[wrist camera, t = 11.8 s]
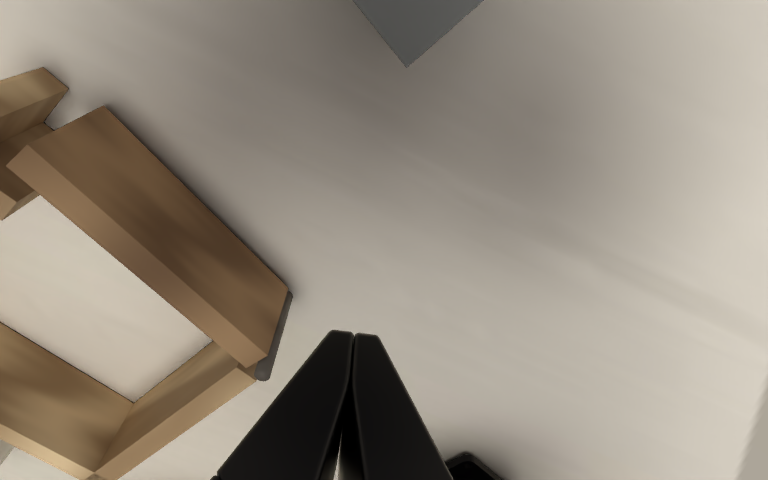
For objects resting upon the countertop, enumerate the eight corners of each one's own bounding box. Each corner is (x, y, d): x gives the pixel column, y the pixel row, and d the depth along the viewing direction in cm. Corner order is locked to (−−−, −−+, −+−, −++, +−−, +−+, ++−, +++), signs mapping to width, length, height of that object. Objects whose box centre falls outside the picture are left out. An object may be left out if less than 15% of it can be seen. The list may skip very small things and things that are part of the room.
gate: (288, 288, 21) (267, 355, 18) (270, 299, 22) (245, 367, 18) (103, 105, 17) (27, 144, 14) (84, 122, 18) (5, 165, 14)
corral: (309, 291, 22) (290, 369, 18) (139, 421, 26) (92, 507, 22) (42, 67, 17) (-71, 103, 13) (-109, 274, 21) (-228, 350, 17)
